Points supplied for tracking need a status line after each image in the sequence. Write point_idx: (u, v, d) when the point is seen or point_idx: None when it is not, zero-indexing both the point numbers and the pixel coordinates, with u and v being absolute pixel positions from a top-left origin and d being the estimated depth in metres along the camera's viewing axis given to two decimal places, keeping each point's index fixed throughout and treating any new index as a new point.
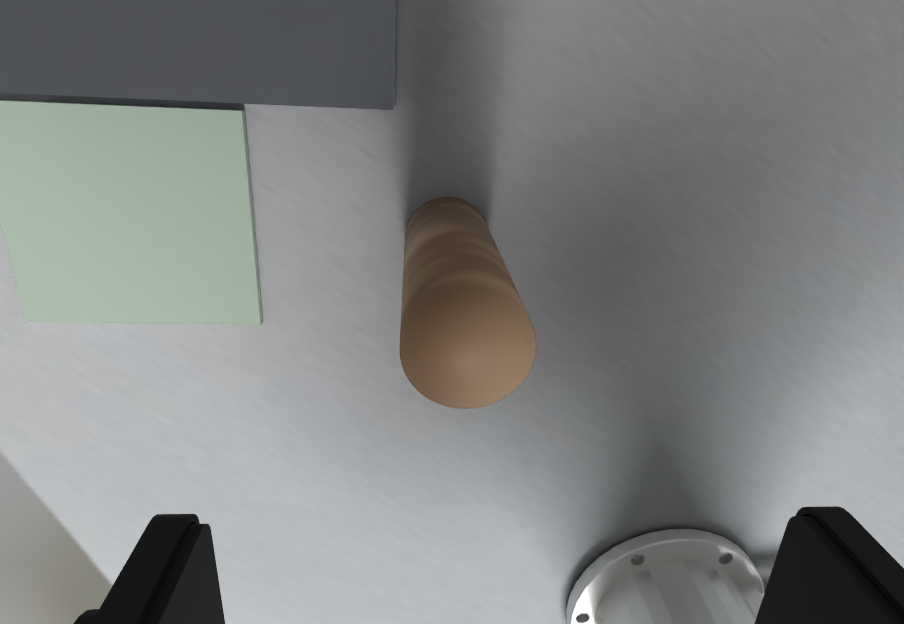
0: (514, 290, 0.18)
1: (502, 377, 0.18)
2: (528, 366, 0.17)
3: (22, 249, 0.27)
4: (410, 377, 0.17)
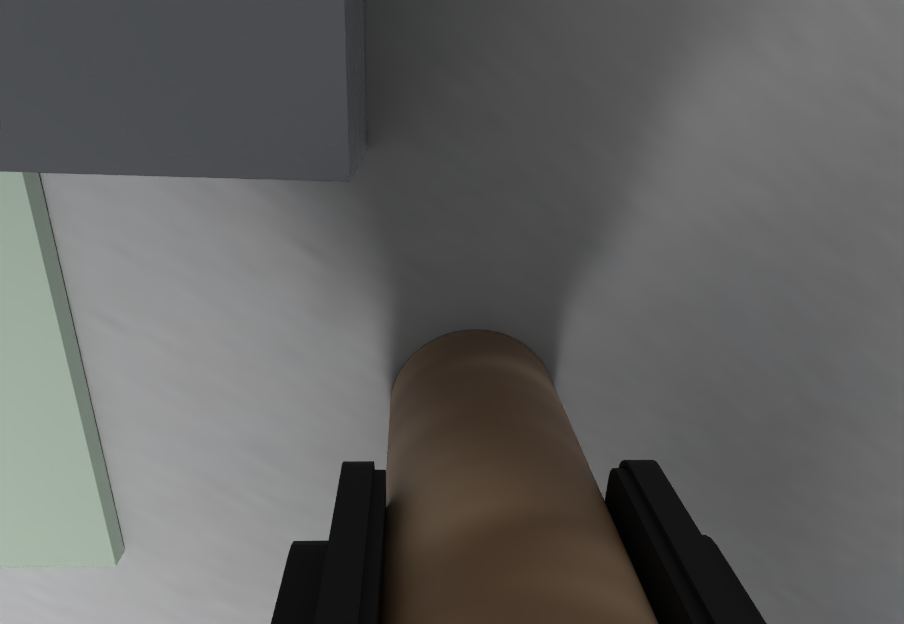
0: None
1: None
2: None
3: None
4: None
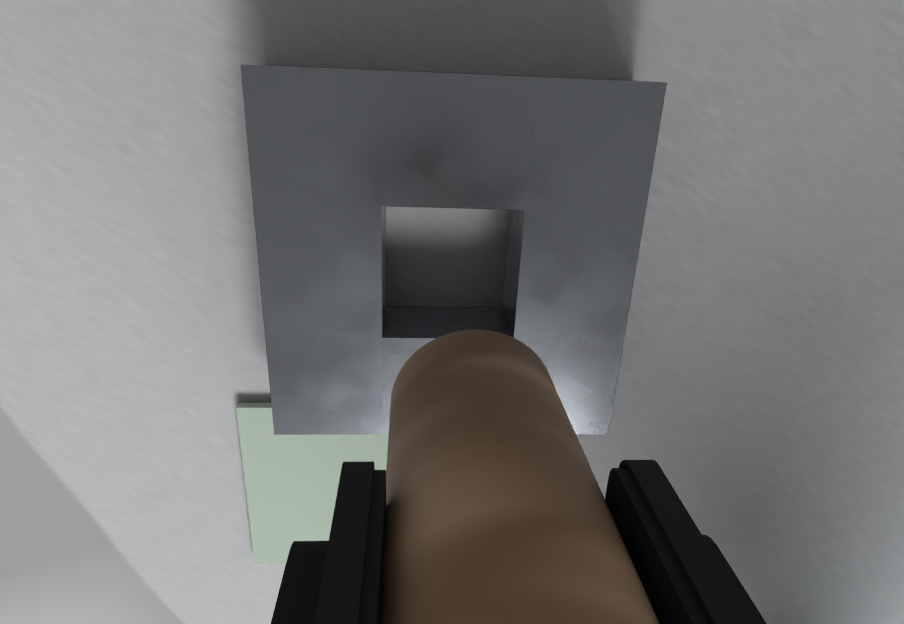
0: None
1: None
2: None
3: (261, 511, 0.31)
4: None
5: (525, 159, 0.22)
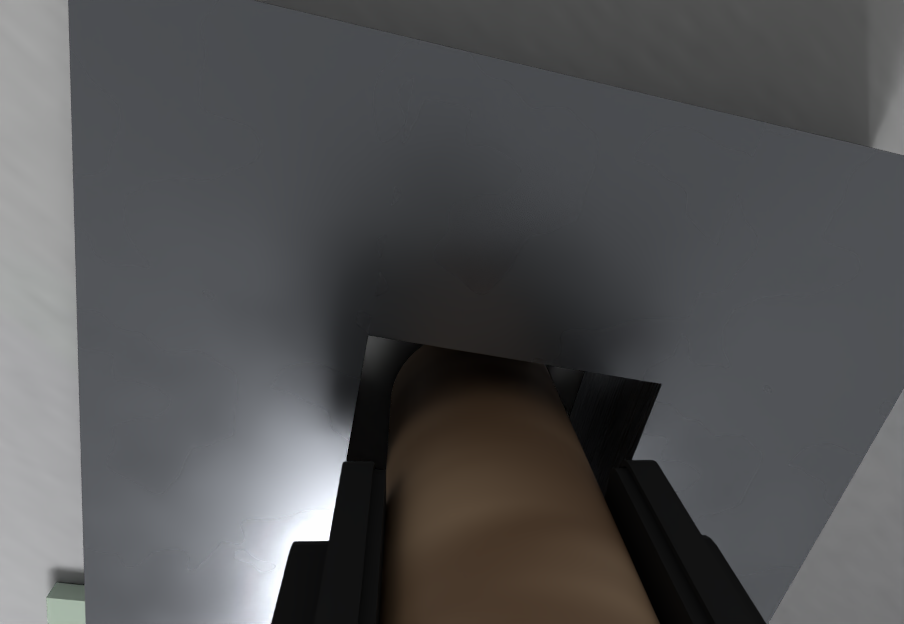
0: None
1: None
2: None
3: None
4: None
5: (691, 288, 0.10)
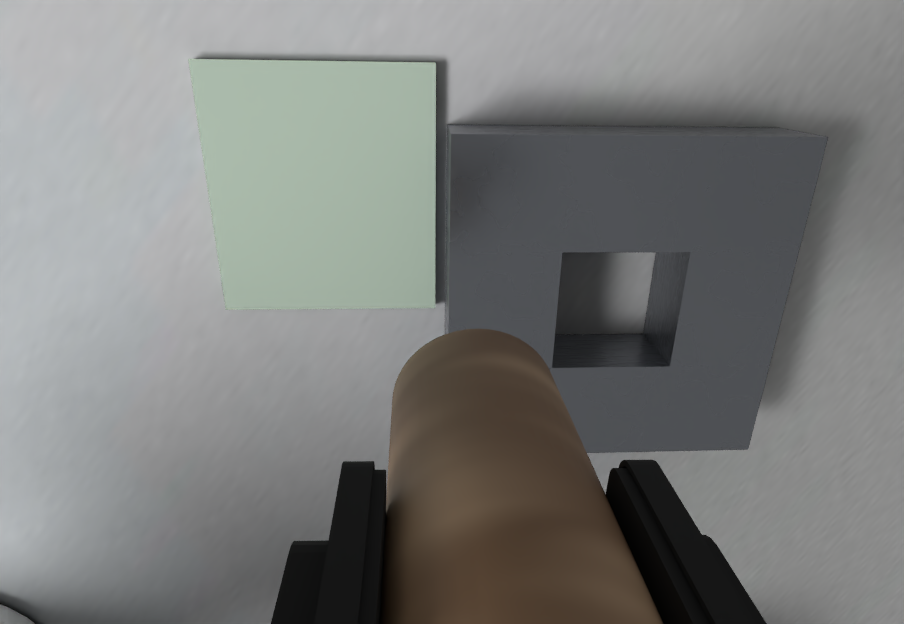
0: None
1: None
2: None
3: (280, 77, 0.24)
4: None
5: (710, 363, 0.27)
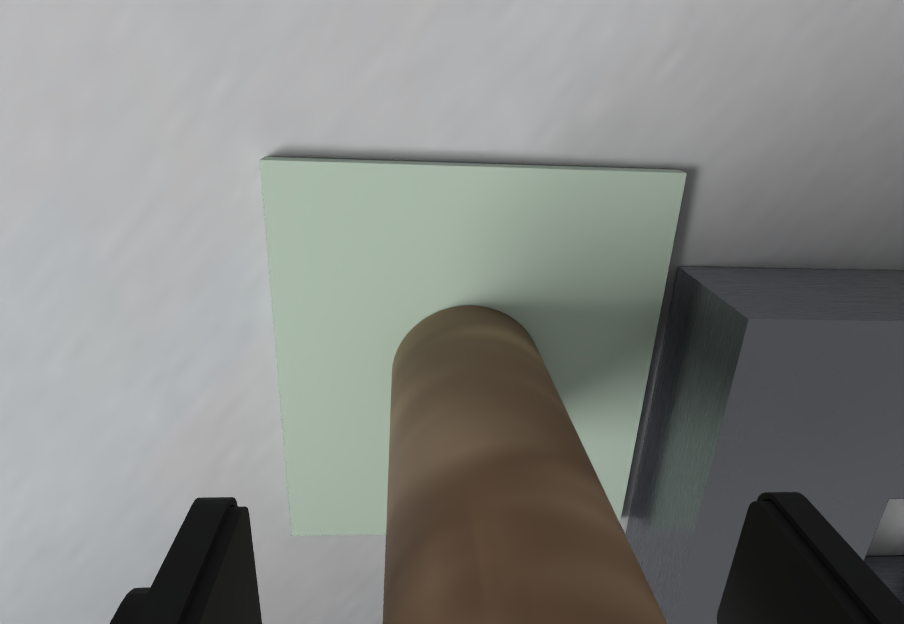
0: None
1: None
2: None
3: (418, 193, 0.14)
4: None
5: None
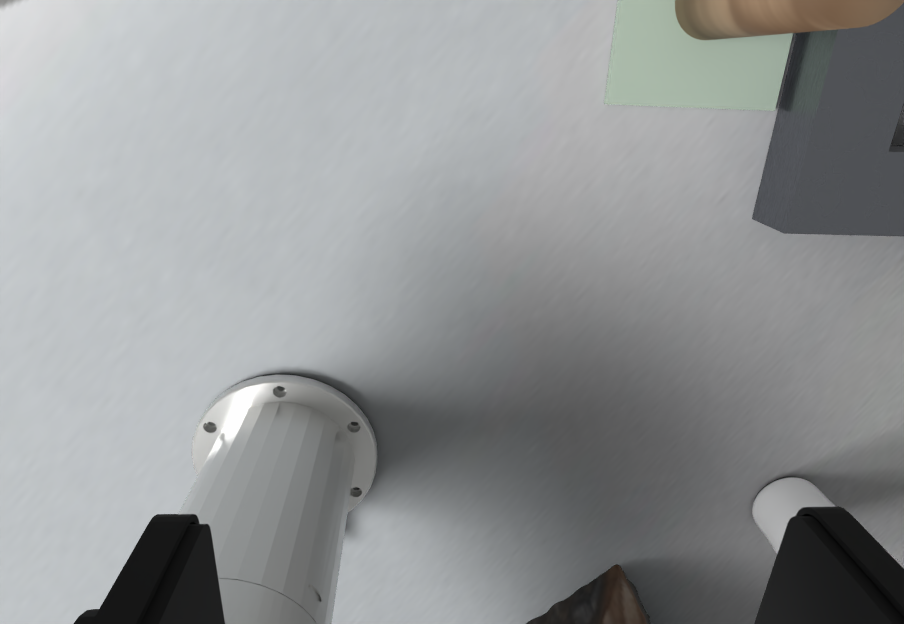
0: None
1: None
2: None
3: None
4: None
5: None
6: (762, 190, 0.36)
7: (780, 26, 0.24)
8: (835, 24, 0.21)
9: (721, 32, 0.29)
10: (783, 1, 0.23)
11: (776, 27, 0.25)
